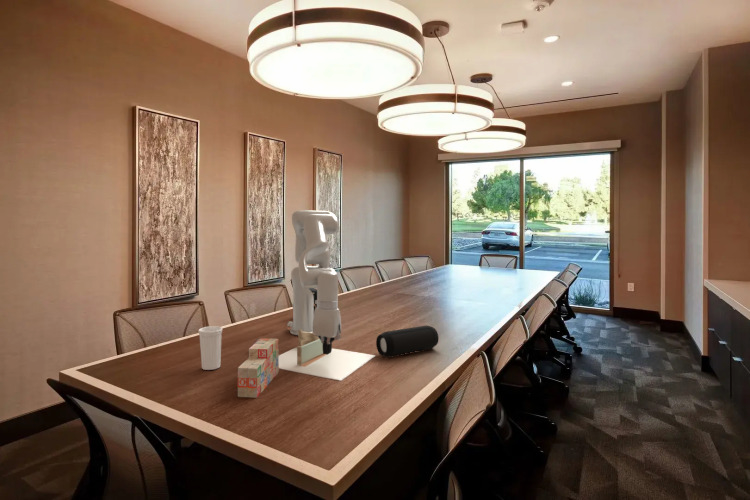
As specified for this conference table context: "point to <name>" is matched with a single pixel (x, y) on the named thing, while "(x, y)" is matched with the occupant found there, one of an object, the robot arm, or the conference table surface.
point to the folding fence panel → (309, 351)
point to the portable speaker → (406, 340)
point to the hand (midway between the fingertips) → (327, 353)
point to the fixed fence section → (305, 337)
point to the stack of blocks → (258, 368)
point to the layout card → (325, 363)
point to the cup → (210, 347)
